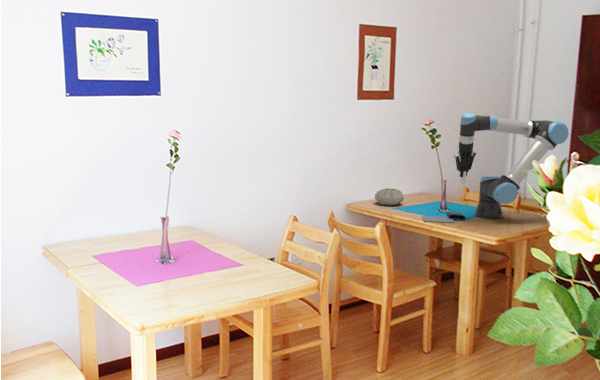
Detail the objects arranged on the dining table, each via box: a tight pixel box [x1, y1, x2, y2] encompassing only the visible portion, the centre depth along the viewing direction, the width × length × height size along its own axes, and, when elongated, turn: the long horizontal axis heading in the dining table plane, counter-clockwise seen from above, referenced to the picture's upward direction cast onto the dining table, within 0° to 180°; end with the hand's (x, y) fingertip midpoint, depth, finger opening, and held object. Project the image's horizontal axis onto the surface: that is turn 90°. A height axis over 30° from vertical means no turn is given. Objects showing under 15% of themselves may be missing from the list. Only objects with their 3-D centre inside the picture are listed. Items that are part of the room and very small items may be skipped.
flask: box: [446, 211, 467, 221], centre depth 326 cm, size 9×3×11 cm
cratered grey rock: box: [374, 188, 405, 206], centre depth 362 cm, size 18×18×10 cm
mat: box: [422, 215, 455, 224], centre depth 320 cm, size 16×13×1 cm
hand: (462, 181), depth 323 cm, fingers closed
